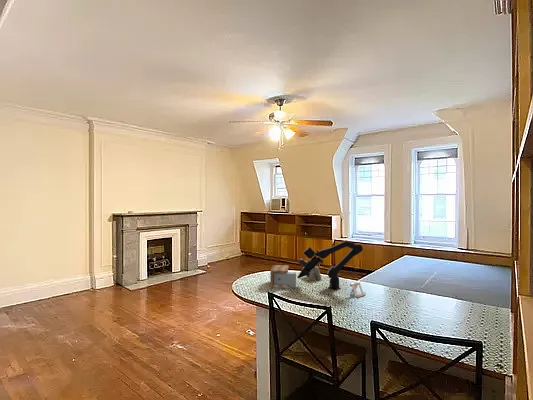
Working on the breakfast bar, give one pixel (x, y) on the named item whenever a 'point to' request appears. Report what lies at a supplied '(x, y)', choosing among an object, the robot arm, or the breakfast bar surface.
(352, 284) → the portable electronic device stand
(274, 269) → the cubby cabinet
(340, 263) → the robot arm
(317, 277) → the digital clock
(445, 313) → the breakfast bar surface
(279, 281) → the gray rectangular box
